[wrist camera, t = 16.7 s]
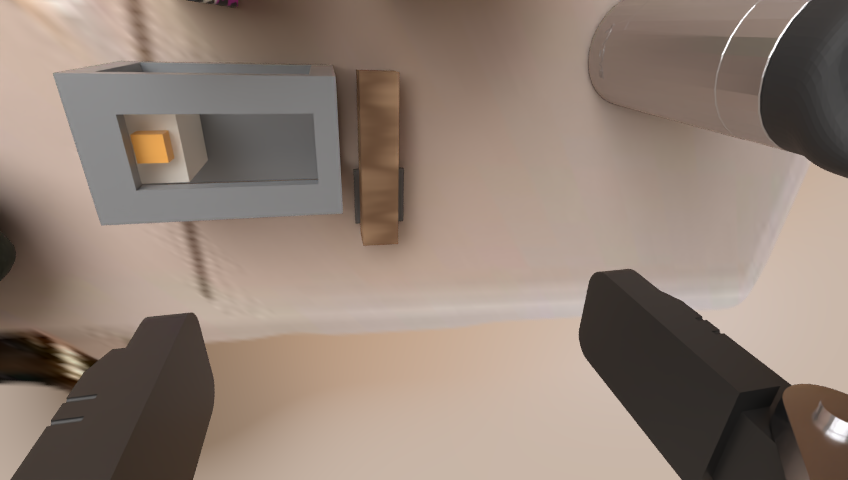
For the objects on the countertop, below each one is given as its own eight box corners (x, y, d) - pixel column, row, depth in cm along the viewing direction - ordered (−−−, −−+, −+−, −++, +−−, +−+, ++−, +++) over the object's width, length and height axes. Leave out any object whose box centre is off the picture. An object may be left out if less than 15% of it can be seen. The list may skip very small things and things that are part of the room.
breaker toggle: (195, 91, 32) (166, 105, 26) (207, 160, 34) (184, 187, 29) (150, 91, 32) (111, 106, 26) (166, 161, 34) (133, 189, 28)
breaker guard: (332, 64, 34) (335, 76, 27) (338, 175, 38) (342, 213, 30) (119, 61, 31) (52, 73, 24) (149, 181, 35) (101, 225, 28)
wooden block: (393, 231, 41) (393, 70, 35) (397, 243, 38) (399, 72, 33) (360, 232, 40) (356, 69, 35) (363, 245, 38) (359, 71, 32)
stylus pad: (403, 167, 39) (403, 169, 39) (402, 219, 41) (403, 220, 41) (353, 169, 38) (353, 170, 38) (355, 221, 40) (355, 223, 40)
